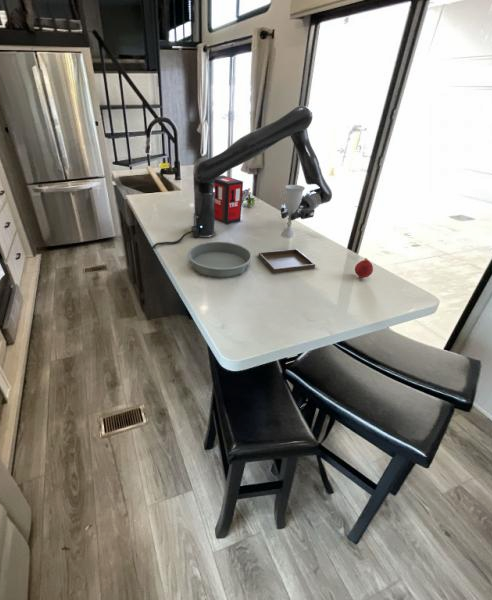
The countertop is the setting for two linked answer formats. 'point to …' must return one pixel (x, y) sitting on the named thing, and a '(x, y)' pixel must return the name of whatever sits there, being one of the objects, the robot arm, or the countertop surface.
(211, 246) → the cake pan
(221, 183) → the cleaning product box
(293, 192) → the chalice
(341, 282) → the countertop surface
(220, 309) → the countertop surface
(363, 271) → the onion
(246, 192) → the passion flower
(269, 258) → the tray
